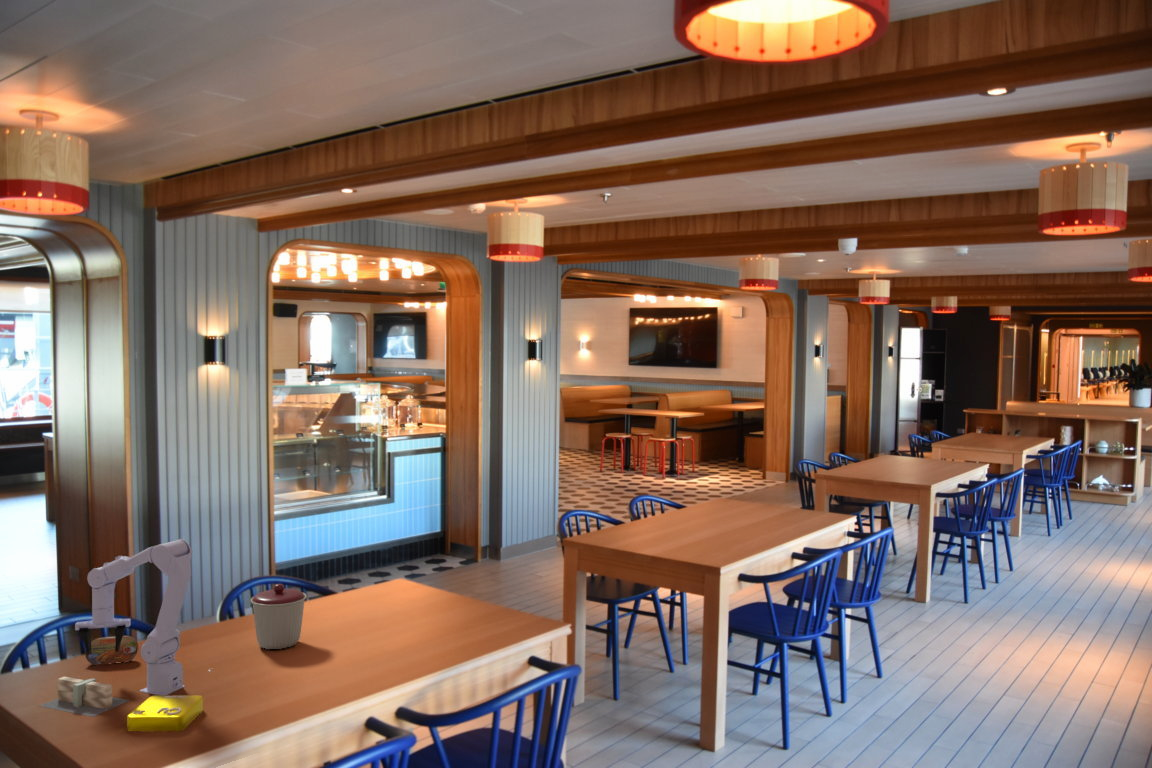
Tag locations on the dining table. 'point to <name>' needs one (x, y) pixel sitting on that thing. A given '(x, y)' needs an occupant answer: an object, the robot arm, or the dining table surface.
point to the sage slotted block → (80, 691)
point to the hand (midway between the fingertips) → (103, 651)
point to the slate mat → (81, 707)
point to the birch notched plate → (94, 695)
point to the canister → (278, 616)
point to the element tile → (165, 713)
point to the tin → (112, 650)
